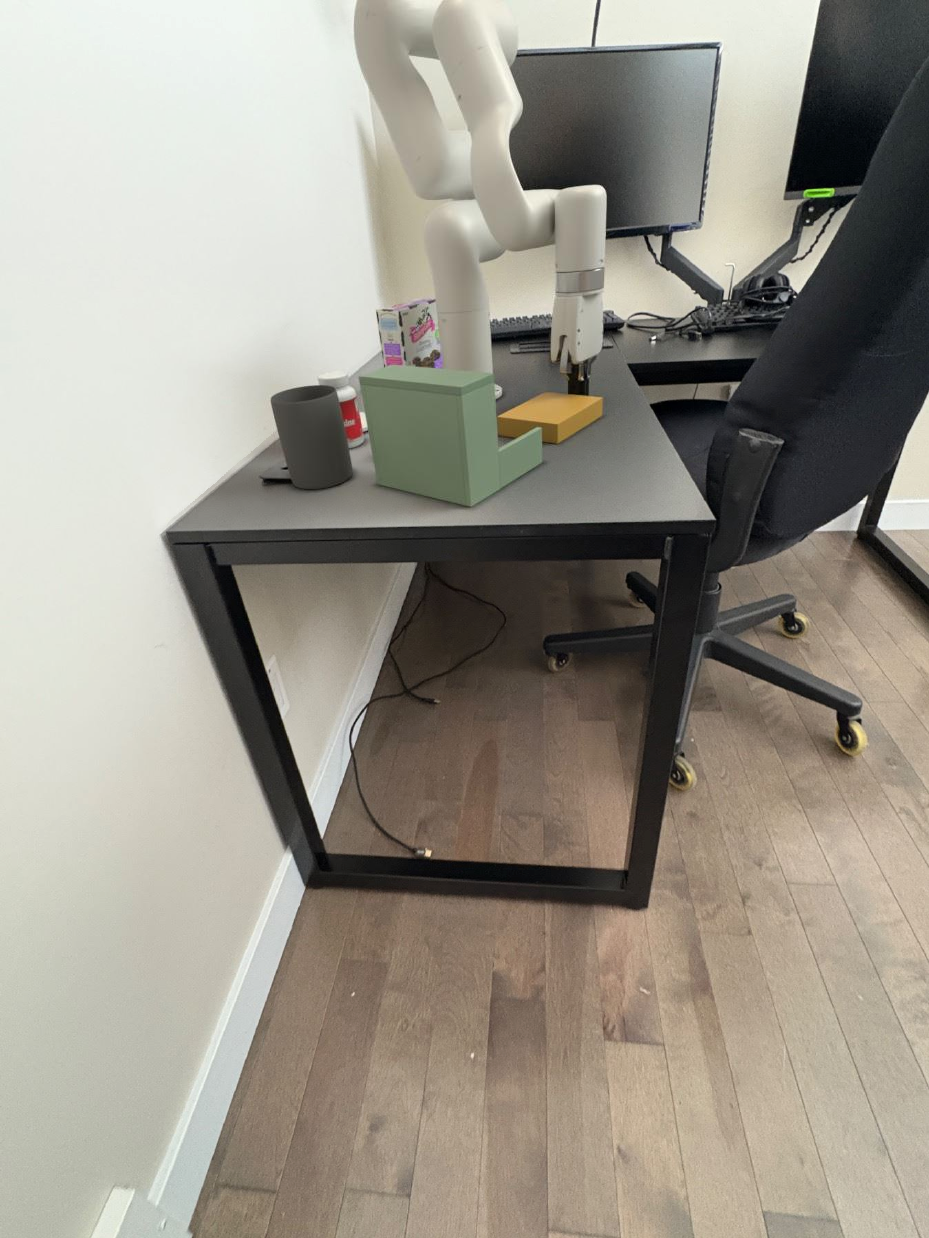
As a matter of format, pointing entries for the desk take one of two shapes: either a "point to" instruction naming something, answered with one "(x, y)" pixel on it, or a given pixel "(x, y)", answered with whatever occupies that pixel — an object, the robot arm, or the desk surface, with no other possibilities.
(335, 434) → the mug
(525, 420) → the orange flat block
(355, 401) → the pill bottle
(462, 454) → the green block
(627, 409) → the desk surface
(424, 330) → the candy box
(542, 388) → the desk surface
